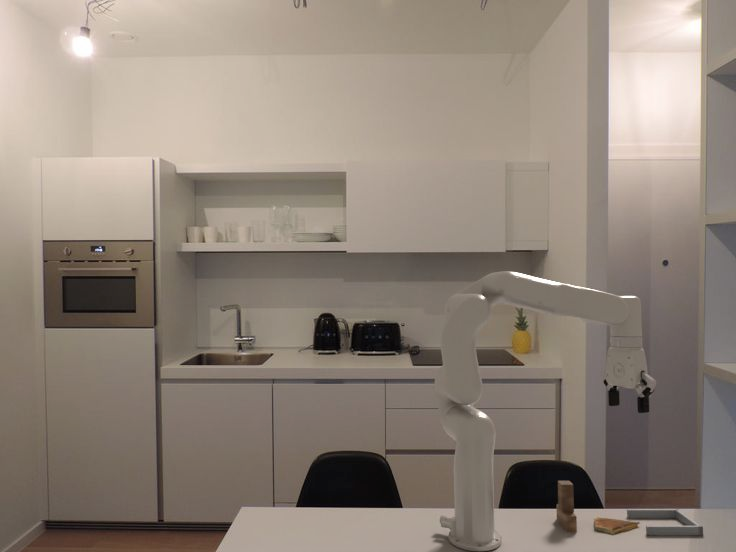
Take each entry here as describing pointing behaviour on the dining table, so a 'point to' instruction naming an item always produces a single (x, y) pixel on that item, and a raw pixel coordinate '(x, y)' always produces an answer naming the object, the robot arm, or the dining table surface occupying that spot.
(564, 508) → the wooden step block
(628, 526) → the shard
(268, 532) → the dining table surface
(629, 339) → the robot arm
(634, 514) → the frame
